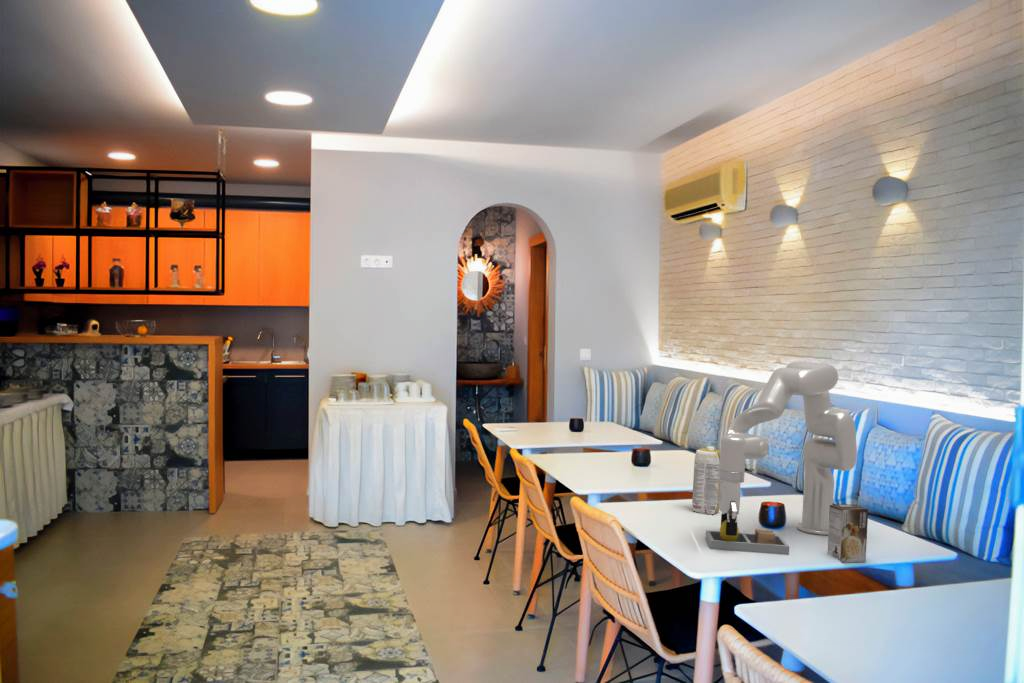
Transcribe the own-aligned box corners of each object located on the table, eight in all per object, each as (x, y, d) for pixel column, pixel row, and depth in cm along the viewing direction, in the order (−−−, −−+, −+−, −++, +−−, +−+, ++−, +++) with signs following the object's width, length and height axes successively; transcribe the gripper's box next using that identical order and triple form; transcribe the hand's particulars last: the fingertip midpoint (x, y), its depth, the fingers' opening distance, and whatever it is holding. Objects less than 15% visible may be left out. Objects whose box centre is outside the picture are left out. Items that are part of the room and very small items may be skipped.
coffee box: (851, 555, 249) (855, 503, 249) (866, 562, 243) (869, 508, 243) (826, 556, 247) (829, 504, 246) (839, 563, 241) (843, 509, 240)
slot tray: (705, 541, 258) (705, 530, 258) (779, 546, 256) (780, 535, 255) (710, 552, 246) (711, 540, 246) (788, 558, 244) (789, 546, 243)
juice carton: (721, 512, 299) (725, 447, 298) (714, 516, 292) (718, 449, 291) (697, 508, 304) (700, 444, 303) (689, 511, 297) (693, 446, 296)
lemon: (734, 543, 254) (735, 517, 255) (740, 546, 249) (741, 520, 249) (716, 542, 254) (718, 516, 254) (722, 545, 248) (723, 519, 249)
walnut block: (754, 544, 253) (755, 528, 253) (770, 545, 252) (771, 530, 252) (757, 549, 248) (758, 533, 248) (774, 550, 247) (775, 534, 247)
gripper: (715, 469, 260) (712, 523, 260) (723, 480, 242) (720, 537, 243) (739, 471, 259) (736, 524, 259) (749, 482, 242) (746, 539, 242)
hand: (728, 531), depth 251 cm, fingers open, 9 cm apart
